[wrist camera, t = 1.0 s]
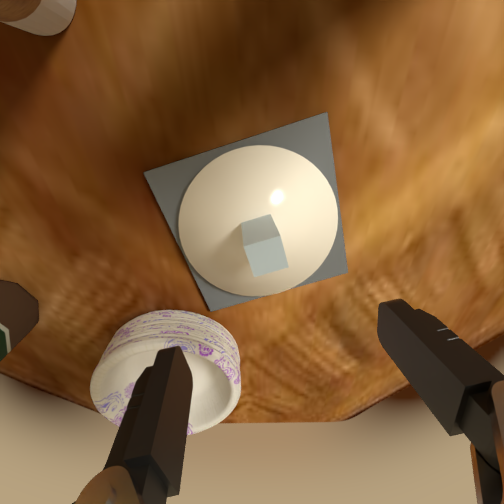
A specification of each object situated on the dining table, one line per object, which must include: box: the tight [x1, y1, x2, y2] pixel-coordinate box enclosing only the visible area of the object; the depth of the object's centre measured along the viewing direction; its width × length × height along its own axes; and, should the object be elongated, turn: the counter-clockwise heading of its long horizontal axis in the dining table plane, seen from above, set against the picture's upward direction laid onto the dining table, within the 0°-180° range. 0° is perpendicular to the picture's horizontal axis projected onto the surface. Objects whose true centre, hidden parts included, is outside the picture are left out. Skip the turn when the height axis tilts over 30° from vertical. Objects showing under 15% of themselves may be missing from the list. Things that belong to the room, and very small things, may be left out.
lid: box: [178, 145, 338, 296], centre depth 22 cm, size 16×16×6 cm
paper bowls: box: [90, 310, 241, 435], centre depth 29 cm, size 15×15×8 cm
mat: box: [144, 112, 348, 312], centre depth 25 cm, size 17×17×1 cm
